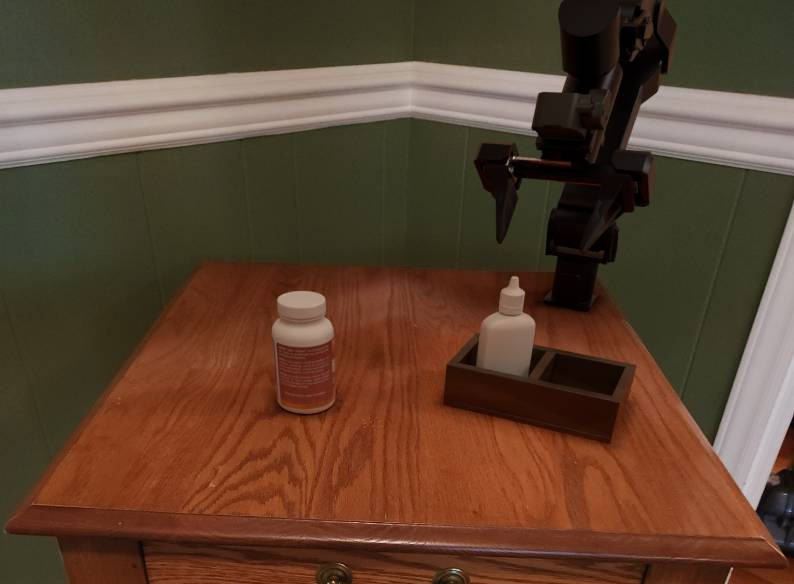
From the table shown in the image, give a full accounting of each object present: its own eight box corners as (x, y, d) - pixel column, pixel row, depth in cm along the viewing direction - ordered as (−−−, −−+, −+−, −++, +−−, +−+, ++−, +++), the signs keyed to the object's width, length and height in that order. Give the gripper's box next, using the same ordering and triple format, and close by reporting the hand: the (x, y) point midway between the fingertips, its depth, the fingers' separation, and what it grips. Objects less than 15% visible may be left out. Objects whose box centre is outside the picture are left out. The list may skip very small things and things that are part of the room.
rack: (471, 370, 84) (476, 332, 82) (626, 404, 79) (637, 364, 76) (442, 404, 78) (446, 364, 75) (609, 444, 72) (620, 402, 69)
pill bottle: (346, 407, 76) (345, 303, 70) (294, 421, 74) (287, 315, 67) (317, 384, 80) (314, 283, 74) (267, 397, 78) (258, 294, 71)
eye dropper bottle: (475, 376, 81) (488, 267, 74) (526, 382, 80) (544, 273, 73) (472, 394, 78) (484, 282, 70) (524, 400, 77) (543, 287, 70)
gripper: (484, 52, 74) (437, 194, 74) (672, 54, 67) (622, 212, 66) (507, 126, 85) (465, 251, 84) (672, 135, 77) (628, 272, 77)
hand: (539, 246), depth 77 cm, fingers open, 9 cm apart
